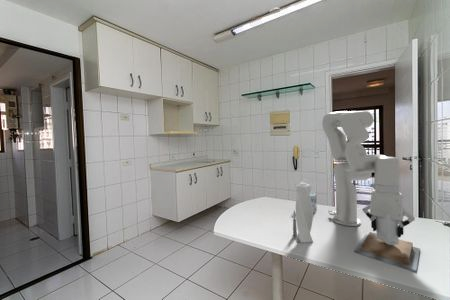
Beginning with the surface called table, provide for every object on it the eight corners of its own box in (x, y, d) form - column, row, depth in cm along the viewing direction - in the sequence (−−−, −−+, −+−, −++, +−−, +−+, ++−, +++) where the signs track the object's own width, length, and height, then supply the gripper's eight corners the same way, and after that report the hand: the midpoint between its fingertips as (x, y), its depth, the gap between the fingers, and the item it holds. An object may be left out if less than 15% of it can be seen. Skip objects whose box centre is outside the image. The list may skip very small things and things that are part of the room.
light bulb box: (317, 209, 128) (316, 192, 127) (315, 213, 122) (314, 195, 121) (299, 207, 133) (298, 191, 133) (296, 210, 128) (296, 193, 127)
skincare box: (399, 244, 77) (399, 213, 77) (387, 245, 77) (387, 214, 76) (385, 236, 84) (385, 207, 83) (375, 237, 83) (375, 208, 83)
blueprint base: (354, 252, 81) (354, 244, 81) (365, 235, 93) (365, 229, 93) (416, 272, 68) (416, 263, 68) (419, 249, 80) (420, 242, 80)
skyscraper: (310, 235, 97) (308, 177, 95) (317, 244, 89) (316, 180, 87) (292, 236, 97) (290, 178, 95) (298, 245, 89) (296, 181, 87)
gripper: (358, 187, 83) (358, 229, 84) (416, 194, 70) (416, 244, 71) (362, 183, 88) (363, 223, 89) (418, 189, 75) (417, 236, 76)
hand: (386, 232), depth 80 cm, fingers closed on skincare box, 7 cm apart
